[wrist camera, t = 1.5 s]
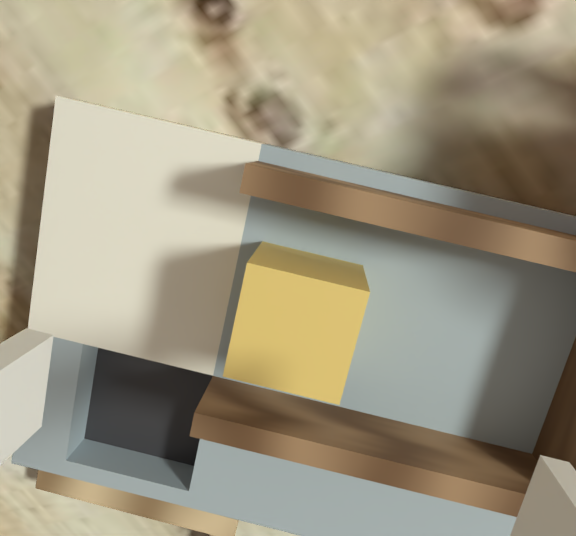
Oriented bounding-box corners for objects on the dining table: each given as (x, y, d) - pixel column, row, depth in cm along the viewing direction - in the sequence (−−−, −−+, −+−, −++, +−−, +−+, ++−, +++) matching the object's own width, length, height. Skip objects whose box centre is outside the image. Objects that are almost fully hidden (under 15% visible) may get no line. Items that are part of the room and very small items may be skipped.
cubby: (208, 396, 28) (189, 436, 24) (258, 160, 26) (245, 163, 22) (547, 479, 28) (582, 533, 24) (636, 249, 25) (692, 268, 21)
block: (241, 335, 27) (222, 376, 23) (262, 241, 26) (247, 262, 21) (337, 359, 27) (339, 404, 22) (362, 265, 26) (370, 292, 21)
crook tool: (39, 528, 34) (26, 544, 33) (50, 454, 33) (38, 467, 31) (223, 578, 34) (219, 596, 32) (242, 504, 33) (238, 520, 31)
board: (35, 439, 33) (11, 463, 30) (79, 100, 28) (55, 95, 26) (492, 553, 32) (506, 587, 29) (614, 225, 27) (642, 232, 25)
